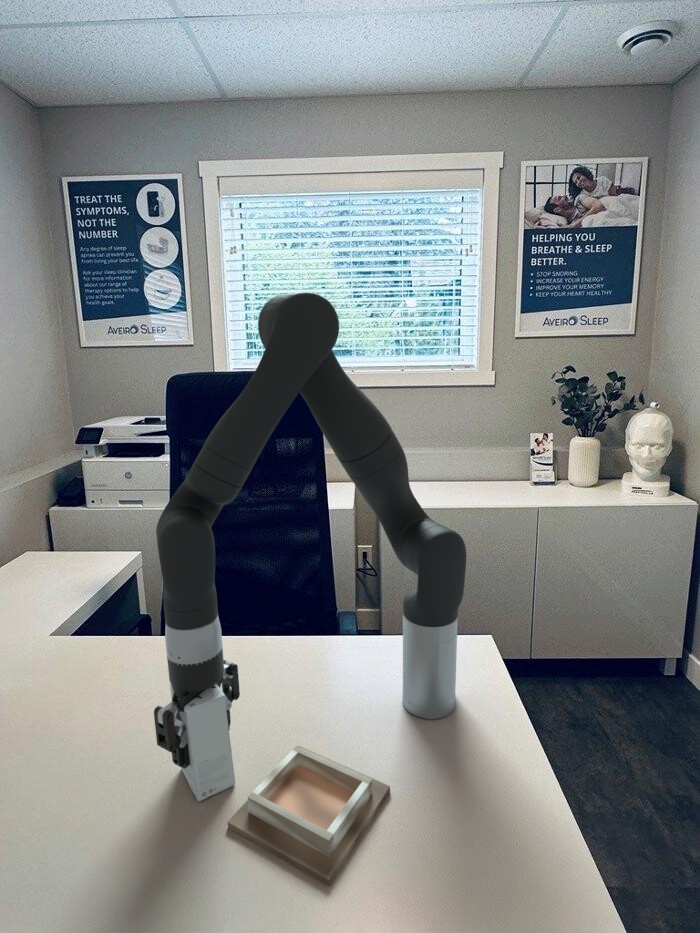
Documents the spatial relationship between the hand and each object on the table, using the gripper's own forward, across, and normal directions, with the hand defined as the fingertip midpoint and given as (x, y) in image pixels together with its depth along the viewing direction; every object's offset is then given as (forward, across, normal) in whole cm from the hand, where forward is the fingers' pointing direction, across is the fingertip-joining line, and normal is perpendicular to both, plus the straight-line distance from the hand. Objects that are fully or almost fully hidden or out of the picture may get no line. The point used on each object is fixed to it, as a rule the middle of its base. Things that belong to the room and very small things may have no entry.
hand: (203, 747), depth 80 cm
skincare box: (+5, 0, 0) cm, 5 cm away
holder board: (+5, +3, -17) cm, 18 cm away
